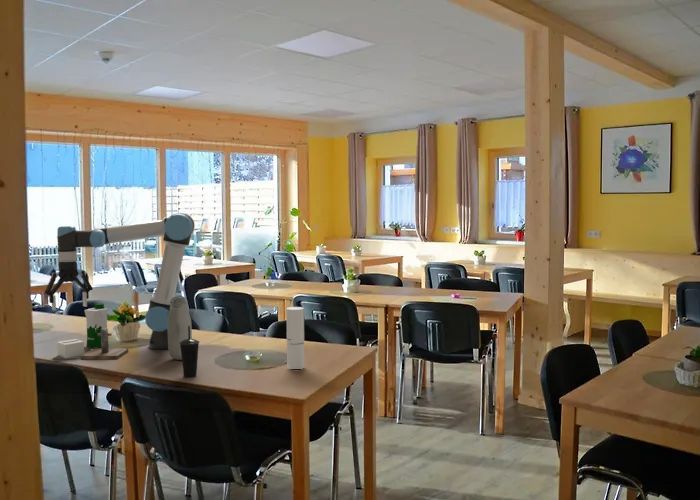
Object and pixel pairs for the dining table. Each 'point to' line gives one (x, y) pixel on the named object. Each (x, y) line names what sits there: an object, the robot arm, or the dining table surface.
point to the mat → (69, 357)
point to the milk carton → (95, 324)
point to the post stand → (105, 349)
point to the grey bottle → (178, 325)
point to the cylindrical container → (295, 337)
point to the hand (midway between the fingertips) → (69, 308)
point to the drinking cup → (189, 356)
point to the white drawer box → (70, 348)
